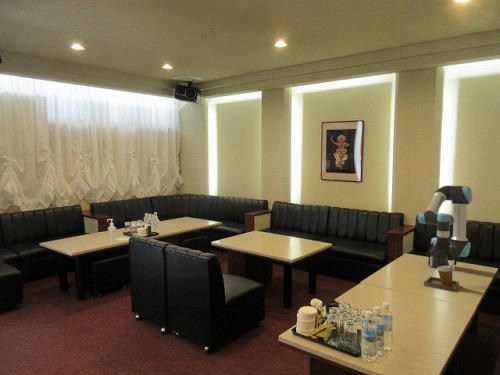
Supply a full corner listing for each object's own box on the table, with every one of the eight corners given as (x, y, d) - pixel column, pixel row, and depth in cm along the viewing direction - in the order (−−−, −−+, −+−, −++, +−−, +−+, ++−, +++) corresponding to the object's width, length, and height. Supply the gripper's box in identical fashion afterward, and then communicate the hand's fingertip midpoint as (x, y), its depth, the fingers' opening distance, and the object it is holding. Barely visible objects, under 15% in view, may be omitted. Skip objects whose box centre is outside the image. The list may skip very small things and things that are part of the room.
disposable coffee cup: (451, 282, 242) (448, 264, 243) (458, 285, 233) (455, 267, 233) (437, 284, 243) (434, 266, 244) (442, 287, 234) (440, 269, 234)
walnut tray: (430, 279, 252) (430, 276, 252) (458, 285, 240) (459, 281, 240) (423, 285, 240) (423, 282, 240) (453, 291, 228) (454, 288, 228)
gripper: (421, 235, 243) (420, 265, 245) (463, 240, 227) (462, 272, 229) (424, 233, 249) (423, 263, 251) (465, 238, 233) (464, 269, 234)
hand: (442, 267), depth 240 cm, fingers open, 13 cm apart
